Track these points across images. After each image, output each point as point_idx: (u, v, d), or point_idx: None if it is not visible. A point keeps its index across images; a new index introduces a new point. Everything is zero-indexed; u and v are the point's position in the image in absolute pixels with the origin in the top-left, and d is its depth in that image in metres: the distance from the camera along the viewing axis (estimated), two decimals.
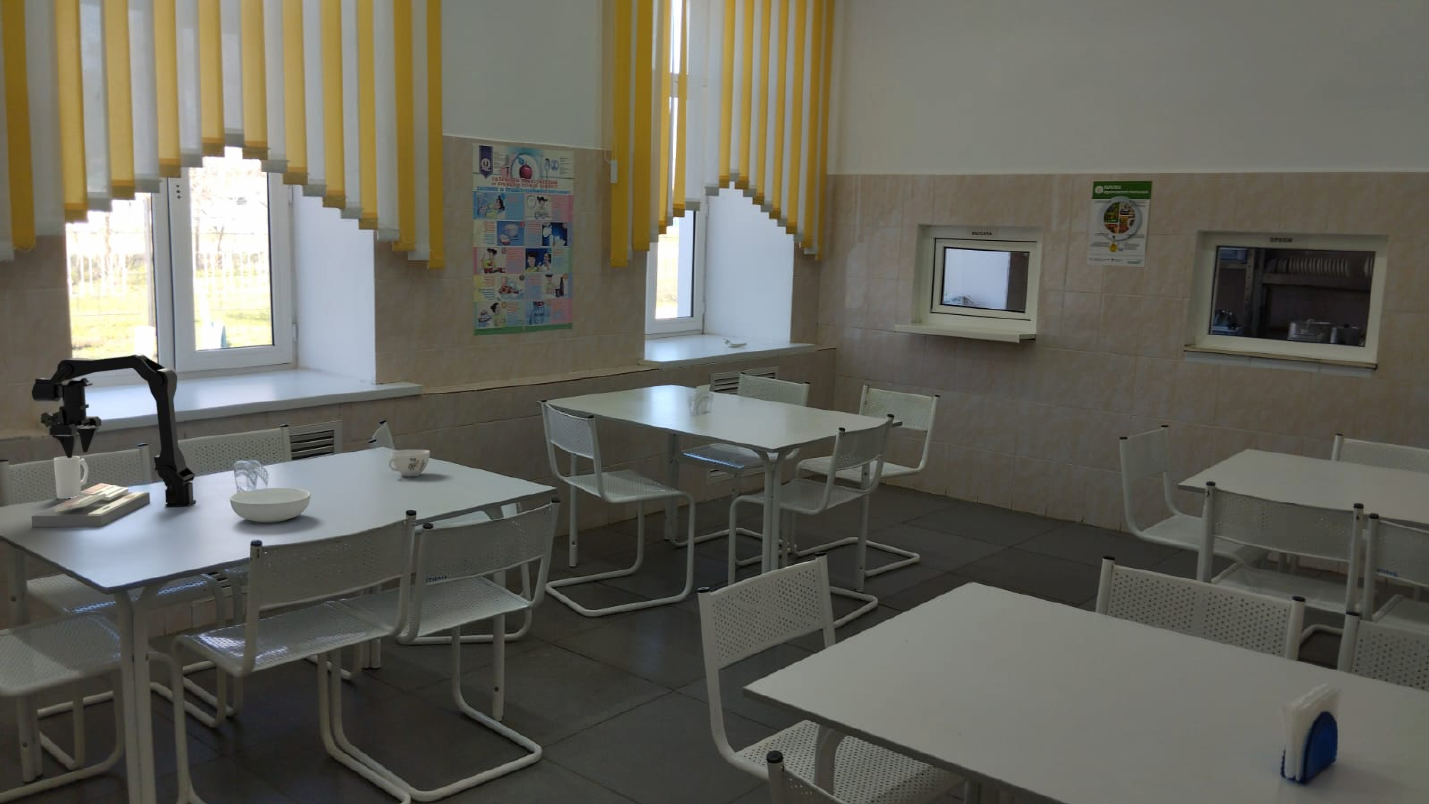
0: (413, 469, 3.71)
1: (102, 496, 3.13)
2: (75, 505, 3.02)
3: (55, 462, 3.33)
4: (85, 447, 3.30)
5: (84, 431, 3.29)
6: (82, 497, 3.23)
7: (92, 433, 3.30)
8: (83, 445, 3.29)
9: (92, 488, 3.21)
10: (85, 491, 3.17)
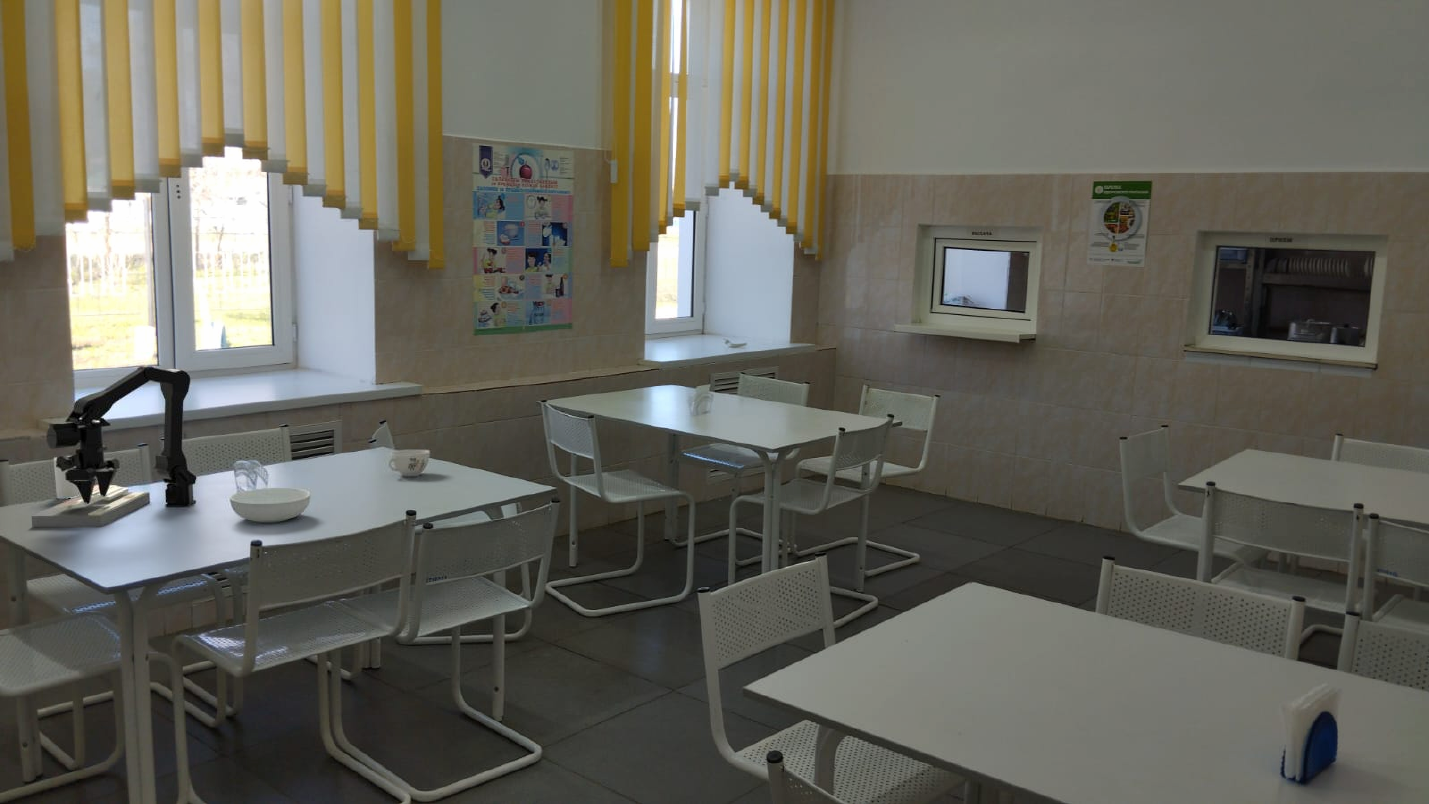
0: (413, 469, 3.71)
1: (102, 496, 3.13)
2: (75, 505, 3.02)
3: (55, 462, 3.33)
4: (103, 491, 3.13)
5: (102, 474, 3.13)
6: None
7: (110, 476, 3.13)
8: (101, 489, 3.13)
9: None
10: None
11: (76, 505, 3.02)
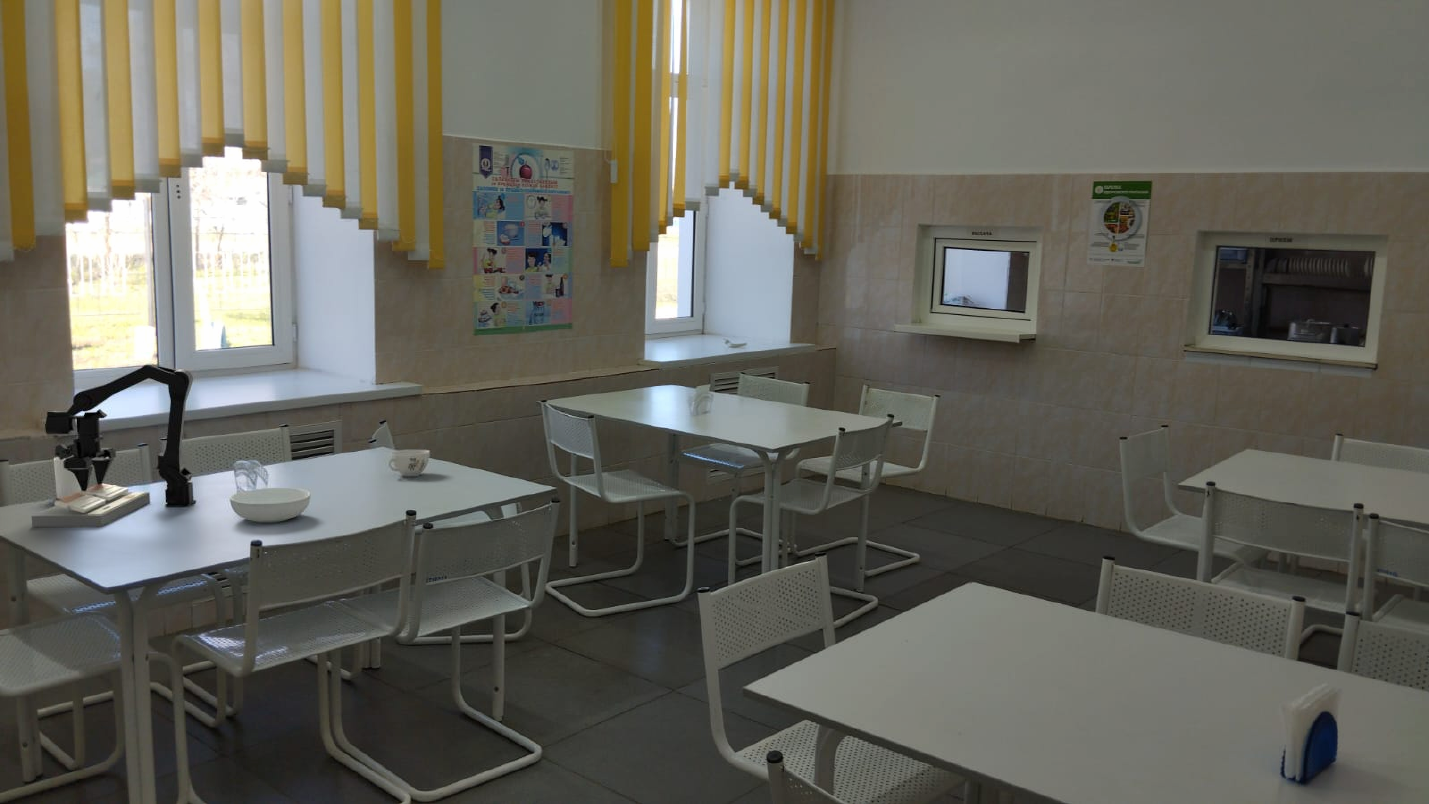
0: (413, 469, 3.71)
1: (102, 503, 3.13)
2: (75, 508, 3.02)
3: (55, 462, 3.33)
4: (100, 479, 3.26)
5: (99, 462, 3.26)
6: None
7: (106, 465, 3.26)
8: (97, 477, 3.26)
9: (92, 488, 3.21)
10: (85, 491, 3.17)
11: (76, 508, 3.03)
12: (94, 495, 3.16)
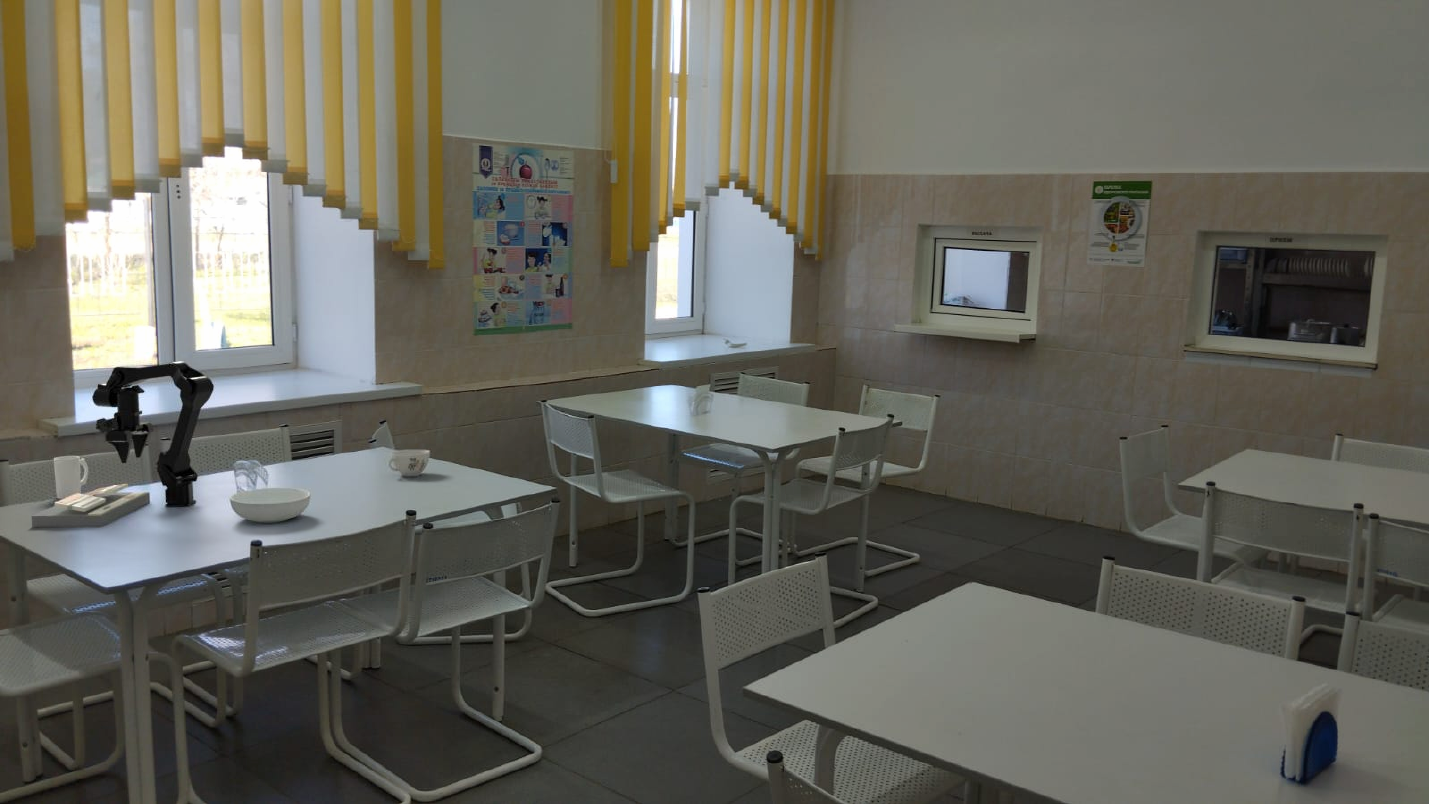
0: (413, 469, 3.71)
1: (102, 501, 3.13)
2: (75, 507, 3.02)
3: (55, 462, 3.33)
4: (138, 453, 3.37)
5: (137, 436, 3.36)
6: None
7: (144, 439, 3.37)
8: (136, 450, 3.36)
9: (91, 492, 3.21)
10: None
11: (76, 507, 3.02)
12: (94, 495, 3.16)
